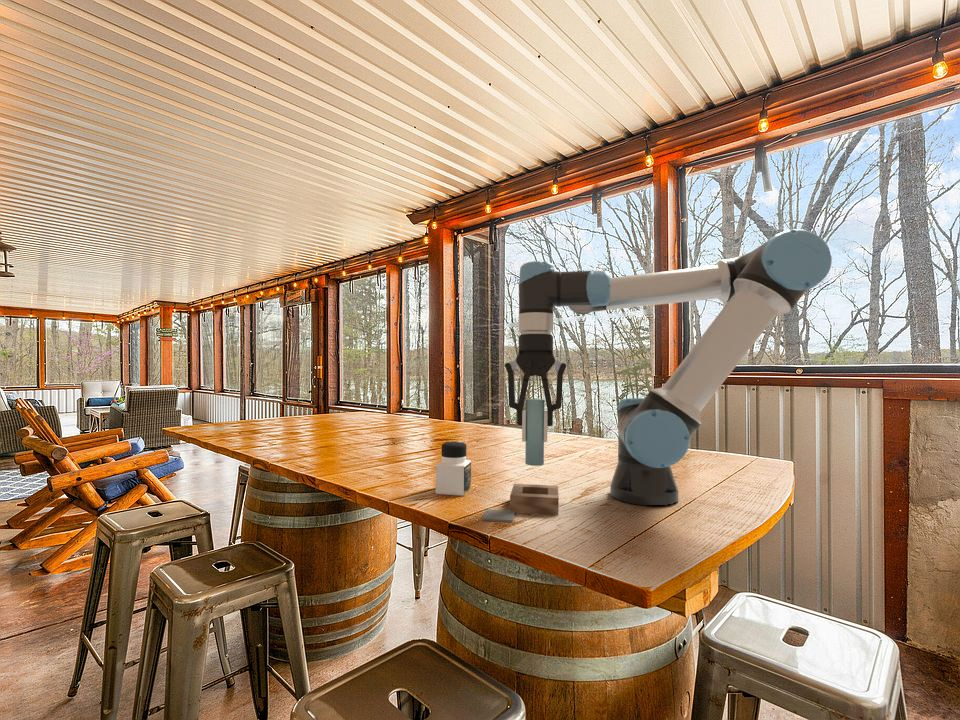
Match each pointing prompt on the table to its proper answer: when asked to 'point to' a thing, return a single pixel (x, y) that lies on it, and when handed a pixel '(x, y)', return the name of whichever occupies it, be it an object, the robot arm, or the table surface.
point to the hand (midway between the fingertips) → (534, 440)
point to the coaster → (498, 515)
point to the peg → (534, 432)
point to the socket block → (534, 499)
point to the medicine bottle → (453, 470)
